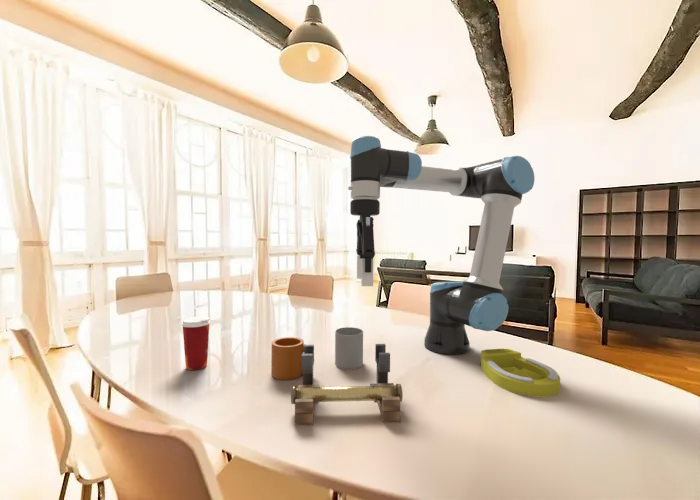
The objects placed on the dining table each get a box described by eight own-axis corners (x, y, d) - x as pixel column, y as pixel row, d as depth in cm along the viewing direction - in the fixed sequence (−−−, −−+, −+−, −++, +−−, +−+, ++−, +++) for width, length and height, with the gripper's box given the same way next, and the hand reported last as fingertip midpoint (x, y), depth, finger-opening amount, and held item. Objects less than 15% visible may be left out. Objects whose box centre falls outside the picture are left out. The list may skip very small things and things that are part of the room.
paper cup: (216, 363, 96) (216, 317, 95) (194, 373, 89) (194, 323, 88) (198, 359, 99) (197, 314, 98) (175, 368, 92) (174, 320, 91)
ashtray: (517, 363, 99) (518, 347, 98) (576, 396, 78) (577, 376, 78) (468, 367, 96) (469, 350, 95) (516, 402, 75) (517, 381, 75)
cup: (360, 370, 92) (360, 336, 91) (332, 368, 93) (332, 334, 93) (364, 359, 100) (364, 328, 100) (339, 357, 102) (339, 326, 101)
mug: (302, 385, 82) (302, 350, 82) (264, 376, 87) (264, 344, 87) (319, 371, 91) (319, 340, 90) (283, 365, 95) (283, 335, 95)
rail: (400, 402, 71) (398, 385, 73) (403, 400, 68) (401, 382, 70) (291, 405, 70) (293, 387, 72) (290, 402, 67) (291, 384, 69)
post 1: (318, 388, 81) (319, 344, 80) (317, 403, 73) (318, 355, 73) (299, 388, 80) (299, 344, 80) (295, 403, 73) (296, 355, 73)
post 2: (389, 386, 82) (389, 343, 81) (395, 401, 75) (395, 354, 74) (369, 387, 82) (370, 343, 81) (373, 401, 74) (374, 354, 74)
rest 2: (392, 403, 74) (393, 382, 73) (400, 423, 66) (400, 400, 66) (377, 403, 73) (377, 382, 73) (383, 424, 65) (383, 400, 65)
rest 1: (314, 405, 73) (314, 384, 72) (312, 425, 65) (312, 402, 64) (298, 405, 72) (298, 384, 72) (294, 426, 64) (294, 402, 64)
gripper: (347, 204, 94) (347, 276, 95) (354, 192, 69) (353, 290, 70) (373, 204, 95) (372, 276, 95) (388, 193, 70) (387, 289, 70)
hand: (364, 282), depth 83 cm, fingers open, 13 cm apart
